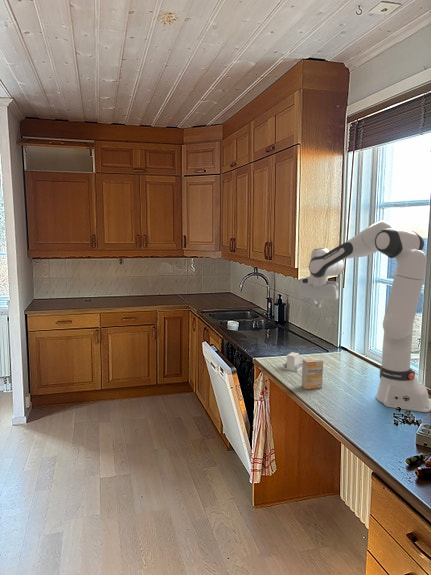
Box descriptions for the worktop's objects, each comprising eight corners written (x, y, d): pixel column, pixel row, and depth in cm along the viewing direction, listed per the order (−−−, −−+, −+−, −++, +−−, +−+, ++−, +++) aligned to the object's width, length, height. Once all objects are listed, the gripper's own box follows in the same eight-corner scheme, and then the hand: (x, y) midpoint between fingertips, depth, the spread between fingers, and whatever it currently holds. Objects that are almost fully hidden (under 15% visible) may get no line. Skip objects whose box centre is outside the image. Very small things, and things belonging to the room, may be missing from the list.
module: (298, 366, 231) (299, 353, 230) (294, 369, 226) (294, 356, 225) (291, 365, 233) (292, 352, 232) (286, 368, 228) (287, 355, 227)
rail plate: (303, 368, 230) (303, 363, 230) (297, 372, 224) (297, 367, 224) (288, 365, 235) (288, 360, 234) (282, 368, 229) (282, 364, 228)
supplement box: (306, 390, 200) (306, 362, 199) (301, 386, 205) (302, 358, 203) (322, 388, 203) (323, 360, 201) (317, 384, 207) (318, 357, 205)
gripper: (340, 281, 224) (339, 308, 226) (302, 278, 235) (301, 304, 237) (336, 282, 219) (335, 310, 221) (297, 279, 230) (296, 305, 232)
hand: (317, 307), depth 229 cm, fingers closed
